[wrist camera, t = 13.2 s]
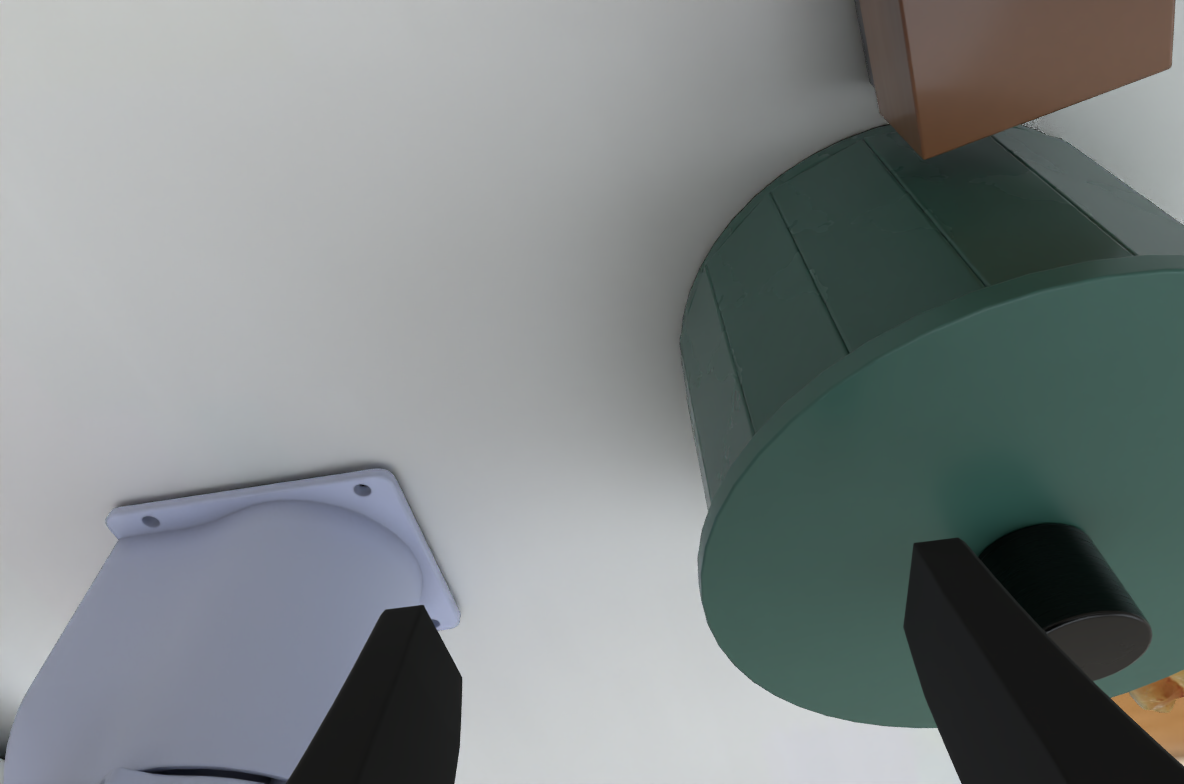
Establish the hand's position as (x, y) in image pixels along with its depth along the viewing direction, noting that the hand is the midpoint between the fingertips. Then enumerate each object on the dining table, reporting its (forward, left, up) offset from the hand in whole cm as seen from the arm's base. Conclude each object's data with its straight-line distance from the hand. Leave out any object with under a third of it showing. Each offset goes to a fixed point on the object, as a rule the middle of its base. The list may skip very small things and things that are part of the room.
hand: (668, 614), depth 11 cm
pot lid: (+7, -3, -3) cm, 8 cm away
